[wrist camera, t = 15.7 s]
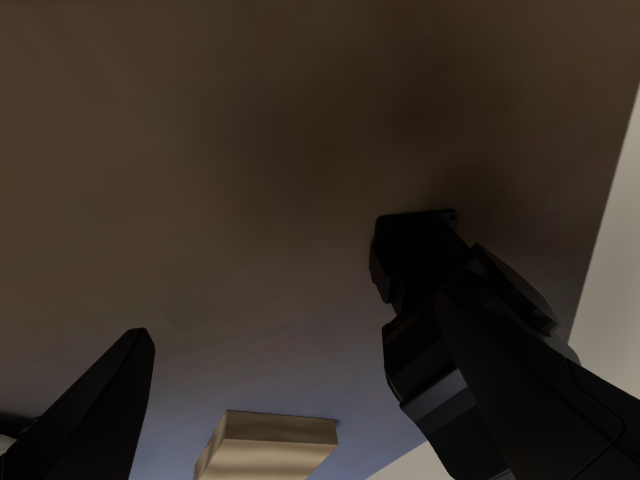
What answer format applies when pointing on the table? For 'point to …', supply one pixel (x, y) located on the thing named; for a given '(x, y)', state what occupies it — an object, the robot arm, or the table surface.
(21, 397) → the table surface
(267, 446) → the oak stand
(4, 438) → the coffee press
